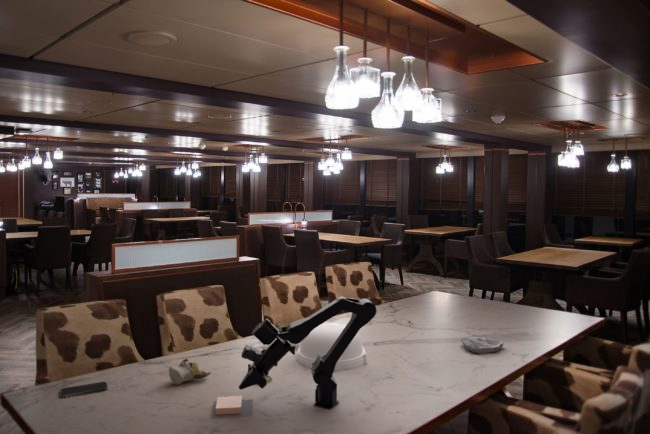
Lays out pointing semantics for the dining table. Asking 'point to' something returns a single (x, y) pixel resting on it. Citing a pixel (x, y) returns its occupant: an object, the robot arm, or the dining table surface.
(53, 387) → the dining table surface
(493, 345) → the flat grey rock
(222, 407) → the tile
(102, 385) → the phone
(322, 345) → the dome cover
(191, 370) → the ceramic sculpture
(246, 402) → the mat
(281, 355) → the robot arm
